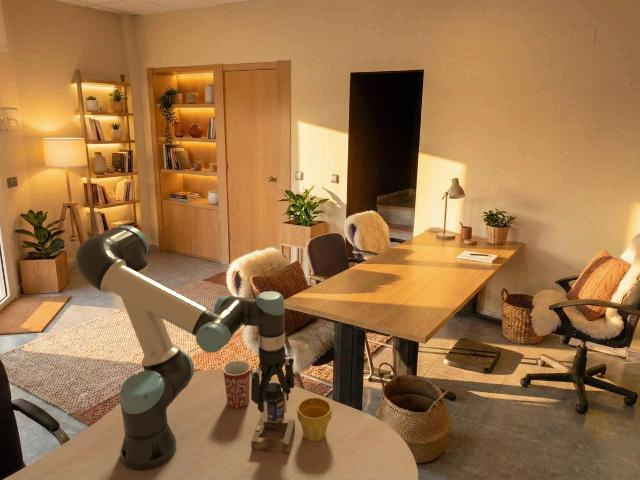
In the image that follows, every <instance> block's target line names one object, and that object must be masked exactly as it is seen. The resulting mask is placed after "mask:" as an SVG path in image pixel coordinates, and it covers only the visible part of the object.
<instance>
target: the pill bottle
mask: <svg viewBox="0 0 640 480" xmlns="http://www.w3.org/2000/svg"><path fill="white" fill-rule="evenodd" d="M281 389H282V388H281V385H280V382H279V383H278V382H269V385H268V389H267V393H266V397H265V401H266V402H267V419H268V421H267V422H266V423H267V424H270V425H277V424H280V423H281V422H282V421H283V420H284V419H285V413H284V394H283V393H282V392H281Z"/></svg>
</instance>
